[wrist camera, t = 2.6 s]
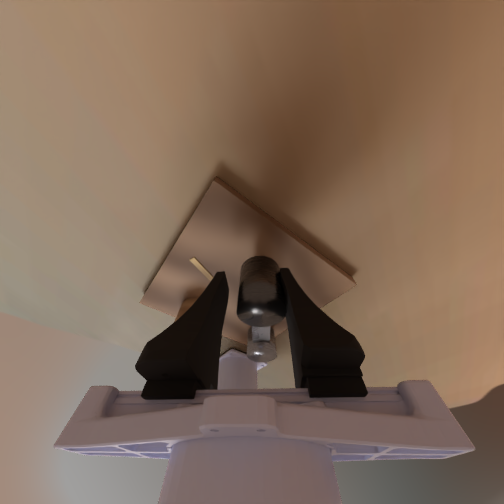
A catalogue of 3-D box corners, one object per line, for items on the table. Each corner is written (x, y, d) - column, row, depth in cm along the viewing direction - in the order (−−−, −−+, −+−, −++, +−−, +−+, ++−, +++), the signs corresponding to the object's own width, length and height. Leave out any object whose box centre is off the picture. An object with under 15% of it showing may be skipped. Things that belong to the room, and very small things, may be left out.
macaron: (204, 321, 24) (198, 344, 22) (176, 310, 23) (166, 332, 20) (219, 306, 22) (215, 329, 20) (190, 293, 21) (181, 315, 18)
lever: (274, 339, 25) (278, 394, 20) (248, 339, 25) (246, 394, 20) (279, 239, 16) (291, 295, 10) (238, 240, 16) (230, 296, 11)
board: (255, 341, 29) (255, 349, 28) (144, 295, 23) (138, 303, 22) (352, 277, 21) (357, 285, 19) (216, 176, 14) (213, 180, 13)
